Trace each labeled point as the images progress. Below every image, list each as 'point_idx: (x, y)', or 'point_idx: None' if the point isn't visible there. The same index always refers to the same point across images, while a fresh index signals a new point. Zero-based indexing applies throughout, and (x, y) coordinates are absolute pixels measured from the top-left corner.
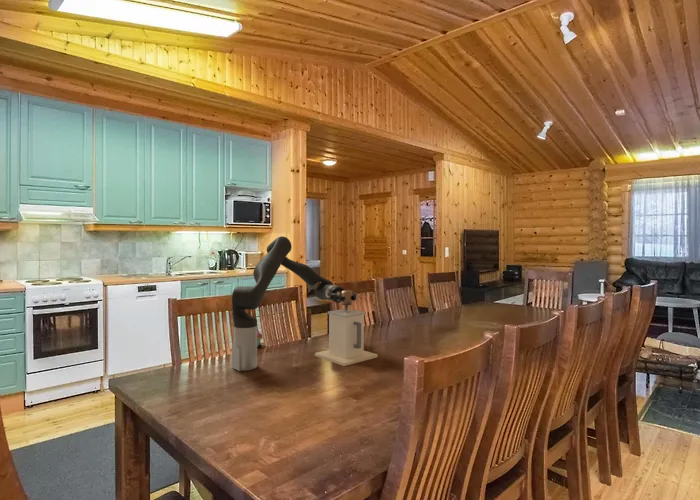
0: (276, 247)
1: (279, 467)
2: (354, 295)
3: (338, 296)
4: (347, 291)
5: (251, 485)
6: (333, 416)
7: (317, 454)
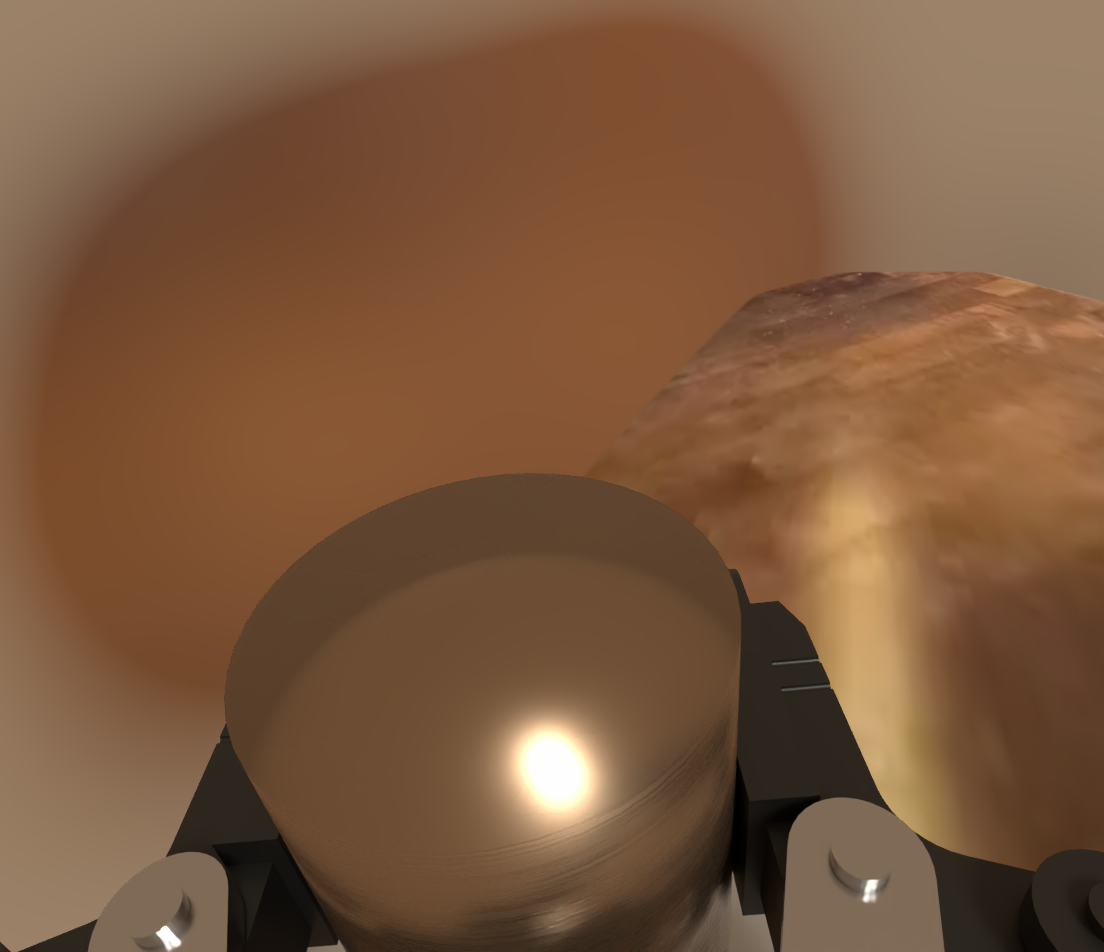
0: None
1: (958, 298)
2: (69, 936)
3: (866, 773)
4: (498, 535)
5: (997, 279)
6: (844, 398)
7: (881, 315)
